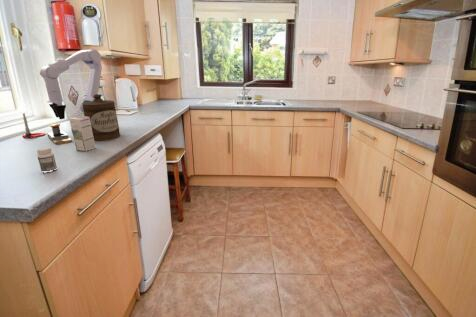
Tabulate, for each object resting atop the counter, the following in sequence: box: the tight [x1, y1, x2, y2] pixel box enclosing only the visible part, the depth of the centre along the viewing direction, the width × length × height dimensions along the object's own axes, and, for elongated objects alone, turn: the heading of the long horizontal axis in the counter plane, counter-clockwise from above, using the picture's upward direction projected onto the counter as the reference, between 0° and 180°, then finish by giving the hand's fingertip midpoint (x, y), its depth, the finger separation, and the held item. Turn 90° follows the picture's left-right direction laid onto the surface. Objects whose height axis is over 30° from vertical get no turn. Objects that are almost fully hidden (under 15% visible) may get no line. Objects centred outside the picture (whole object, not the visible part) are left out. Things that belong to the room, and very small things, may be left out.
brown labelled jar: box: [81, 93, 121, 142], centre depth 139 cm, size 15×15×22 cm
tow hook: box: [22, 112, 46, 139], centre depth 146 cm, size 8×13×9 cm
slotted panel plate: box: [47, 130, 73, 145], centre depth 140 cm, size 7×19×2 cm, turn 42°
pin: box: [49, 123, 61, 136], centre depth 139 cm, size 4×4×8 cm
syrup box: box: [68, 115, 97, 152], centre depth 121 cm, size 6×6×14 cm
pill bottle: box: [36, 146, 58, 172], centre depth 98 cm, size 5×5×8 cm
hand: (60, 118), depth 143 cm, fingers open, 7 cm apart
